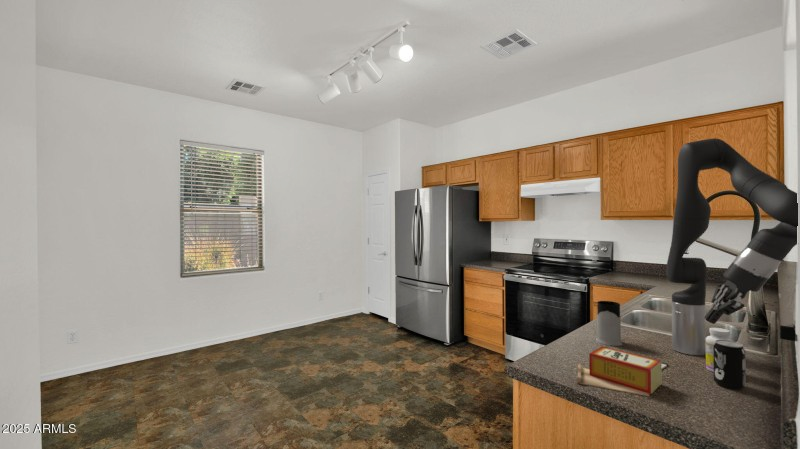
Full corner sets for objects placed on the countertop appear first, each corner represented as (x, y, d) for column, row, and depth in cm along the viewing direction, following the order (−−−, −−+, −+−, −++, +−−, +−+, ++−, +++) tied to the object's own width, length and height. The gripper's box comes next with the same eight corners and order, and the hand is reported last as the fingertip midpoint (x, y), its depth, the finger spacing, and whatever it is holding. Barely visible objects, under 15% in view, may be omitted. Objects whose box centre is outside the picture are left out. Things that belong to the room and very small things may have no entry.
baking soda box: (650, 369, 94) (588, 353, 106) (650, 394, 94) (588, 374, 106) (661, 360, 100) (600, 345, 112) (661, 383, 100) (601, 366, 112)
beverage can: (707, 380, 102) (707, 339, 102) (728, 379, 103) (727, 338, 103) (730, 391, 96) (730, 347, 95) (752, 390, 96) (752, 346, 96)
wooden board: (577, 368, 112) (577, 362, 112) (642, 378, 104) (642, 372, 104) (577, 383, 101) (577, 377, 101) (649, 396, 94) (649, 389, 94)
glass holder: (594, 342, 135) (593, 303, 135) (599, 333, 146) (599, 297, 146) (621, 347, 130) (620, 306, 130) (624, 337, 141) (624, 299, 141)
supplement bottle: (727, 368, 110) (727, 327, 110) (740, 377, 104) (739, 333, 104) (701, 365, 113) (701, 325, 113) (712, 374, 106) (711, 331, 106)
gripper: (726, 254, 97) (688, 304, 103) (743, 269, 85) (699, 324, 92) (758, 267, 94) (717, 317, 101) (781, 285, 83) (733, 340, 89)
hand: (709, 321), depth 96 cm, fingers closed
